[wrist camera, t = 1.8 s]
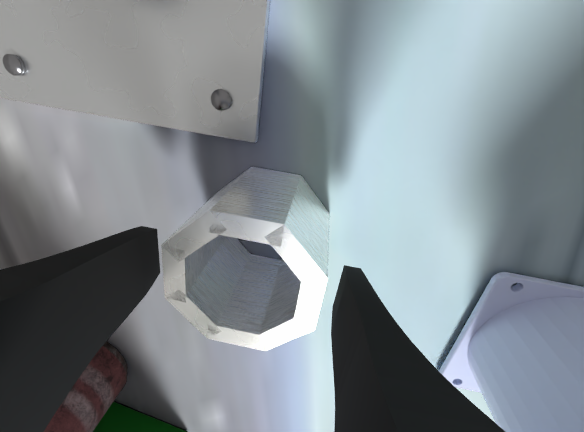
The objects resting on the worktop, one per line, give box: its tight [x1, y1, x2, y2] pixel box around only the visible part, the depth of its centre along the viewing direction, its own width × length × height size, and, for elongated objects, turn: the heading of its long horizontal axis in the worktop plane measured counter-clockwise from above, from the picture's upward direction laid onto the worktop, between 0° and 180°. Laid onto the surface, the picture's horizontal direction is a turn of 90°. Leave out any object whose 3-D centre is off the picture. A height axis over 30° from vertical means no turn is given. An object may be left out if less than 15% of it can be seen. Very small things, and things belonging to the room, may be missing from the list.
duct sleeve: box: [161, 166, 330, 351], centre depth 12 cm, size 6×6×5 cm
